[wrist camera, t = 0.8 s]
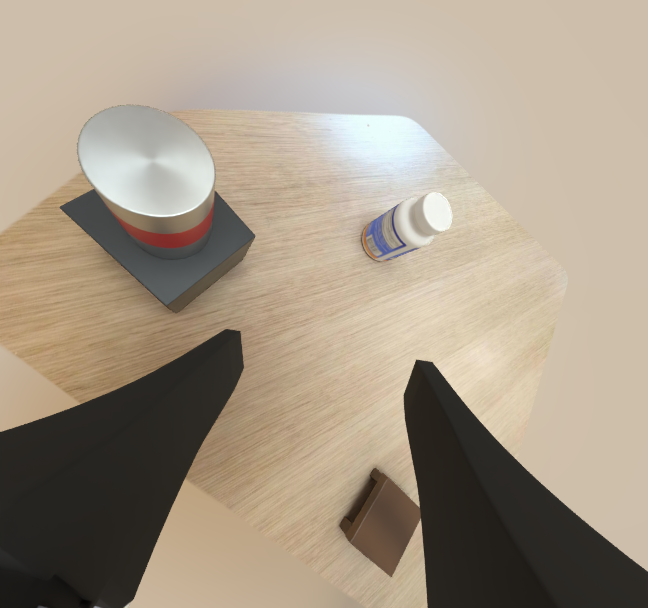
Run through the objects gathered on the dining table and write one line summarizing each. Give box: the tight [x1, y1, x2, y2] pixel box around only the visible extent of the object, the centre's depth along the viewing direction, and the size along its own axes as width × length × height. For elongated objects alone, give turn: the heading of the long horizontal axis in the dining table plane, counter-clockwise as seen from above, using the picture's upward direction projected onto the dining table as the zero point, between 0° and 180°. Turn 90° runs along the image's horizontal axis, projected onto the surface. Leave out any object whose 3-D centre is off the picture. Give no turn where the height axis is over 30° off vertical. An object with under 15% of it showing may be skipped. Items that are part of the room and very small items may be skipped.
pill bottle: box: [362, 192, 452, 261], centre depth 29 cm, size 5×5×10 cm
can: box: [77, 105, 216, 259], centre depth 14 cm, size 5×5×7 cm
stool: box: [340, 468, 421, 577], centre depth 28 cm, size 7×7×2 cm
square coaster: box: [60, 189, 255, 313], centre depth 20 cm, size 8×8×7 cm
